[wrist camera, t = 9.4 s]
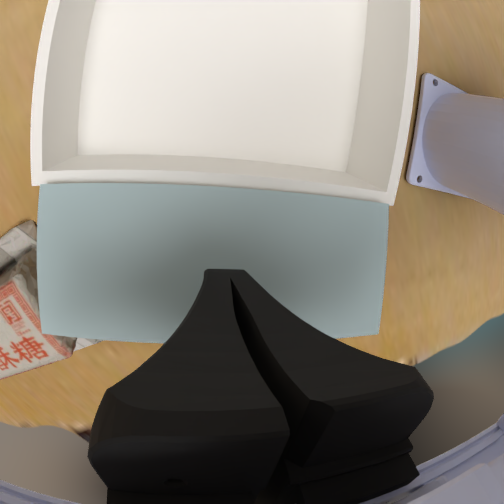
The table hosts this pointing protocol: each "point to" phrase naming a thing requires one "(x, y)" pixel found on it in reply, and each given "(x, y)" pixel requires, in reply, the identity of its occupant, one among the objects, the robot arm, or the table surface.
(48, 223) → the flap
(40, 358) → the packaged product
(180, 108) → the carton
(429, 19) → the table surface
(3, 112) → the table surface
